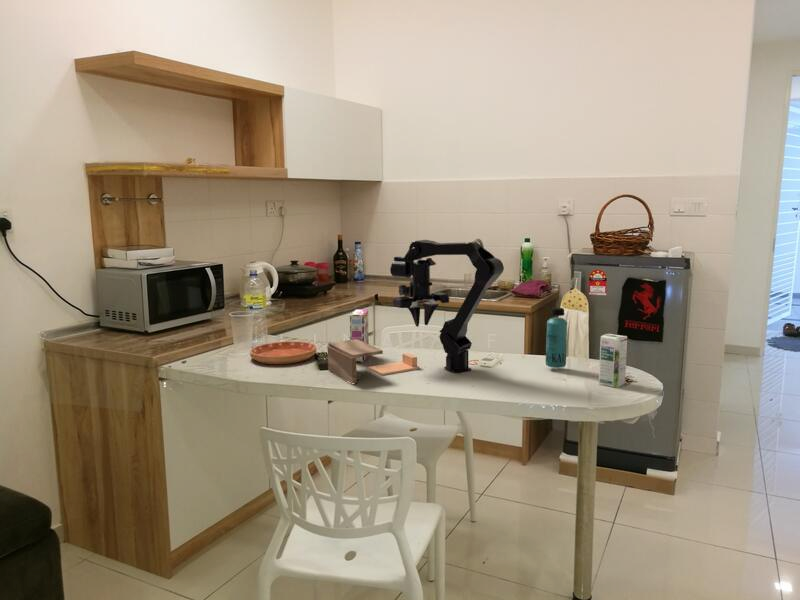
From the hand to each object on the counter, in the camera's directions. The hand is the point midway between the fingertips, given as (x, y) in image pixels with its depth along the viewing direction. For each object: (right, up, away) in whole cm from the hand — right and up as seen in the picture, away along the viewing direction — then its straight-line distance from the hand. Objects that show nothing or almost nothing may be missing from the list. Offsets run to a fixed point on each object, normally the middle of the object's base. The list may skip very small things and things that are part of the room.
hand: (421, 325), depth 206 cm
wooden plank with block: (-9, -14, -3) cm, 17 cm away
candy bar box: (-21, -12, +11) cm, 26 cm away
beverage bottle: (+42, -14, -7) cm, 45 cm away
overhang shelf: (-21, -15, -9) cm, 28 cm away
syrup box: (+55, -16, -23) cm, 62 cm away
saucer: (-48, -12, +14) cm, 51 cm away
